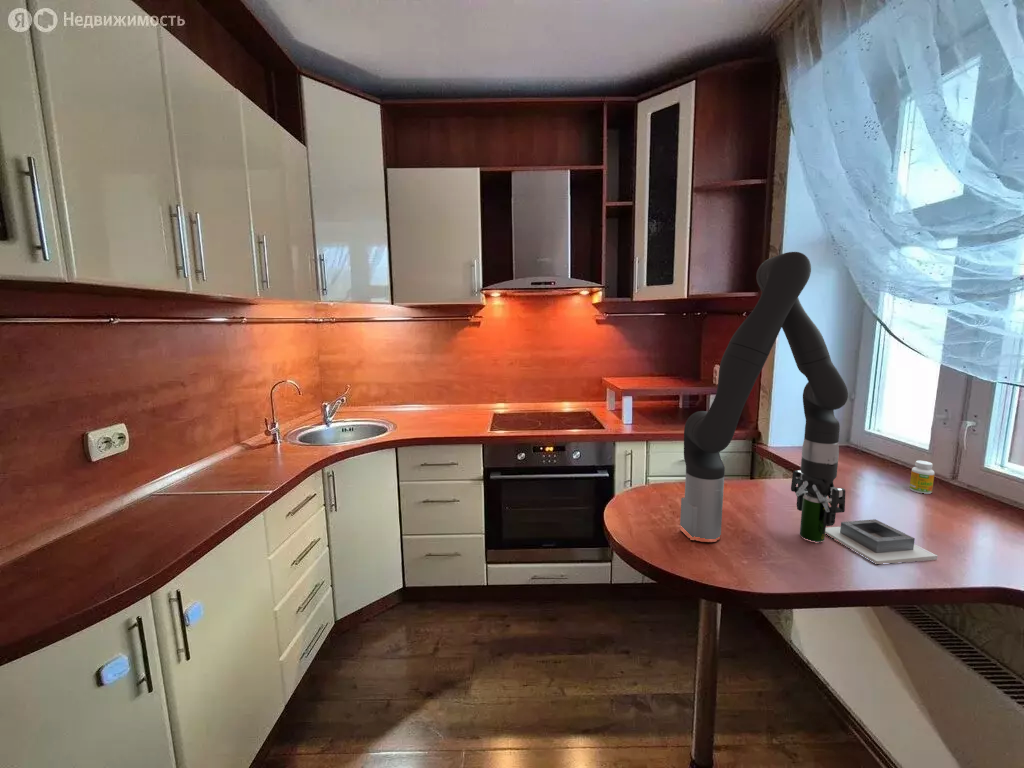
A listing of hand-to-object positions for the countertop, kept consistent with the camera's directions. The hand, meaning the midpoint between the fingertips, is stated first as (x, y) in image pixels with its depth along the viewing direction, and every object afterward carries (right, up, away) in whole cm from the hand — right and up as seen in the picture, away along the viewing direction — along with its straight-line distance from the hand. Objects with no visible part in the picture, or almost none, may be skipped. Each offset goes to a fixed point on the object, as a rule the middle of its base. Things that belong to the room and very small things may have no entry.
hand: (814, 517), depth 111 cm
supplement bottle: (+55, -1, +29) cm, 62 cm away
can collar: (+13, -6, -3) cm, 15 cm away
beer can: (0, -6, +1) cm, 6 cm away
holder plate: (+13, -6, -3) cm, 15 cm away
